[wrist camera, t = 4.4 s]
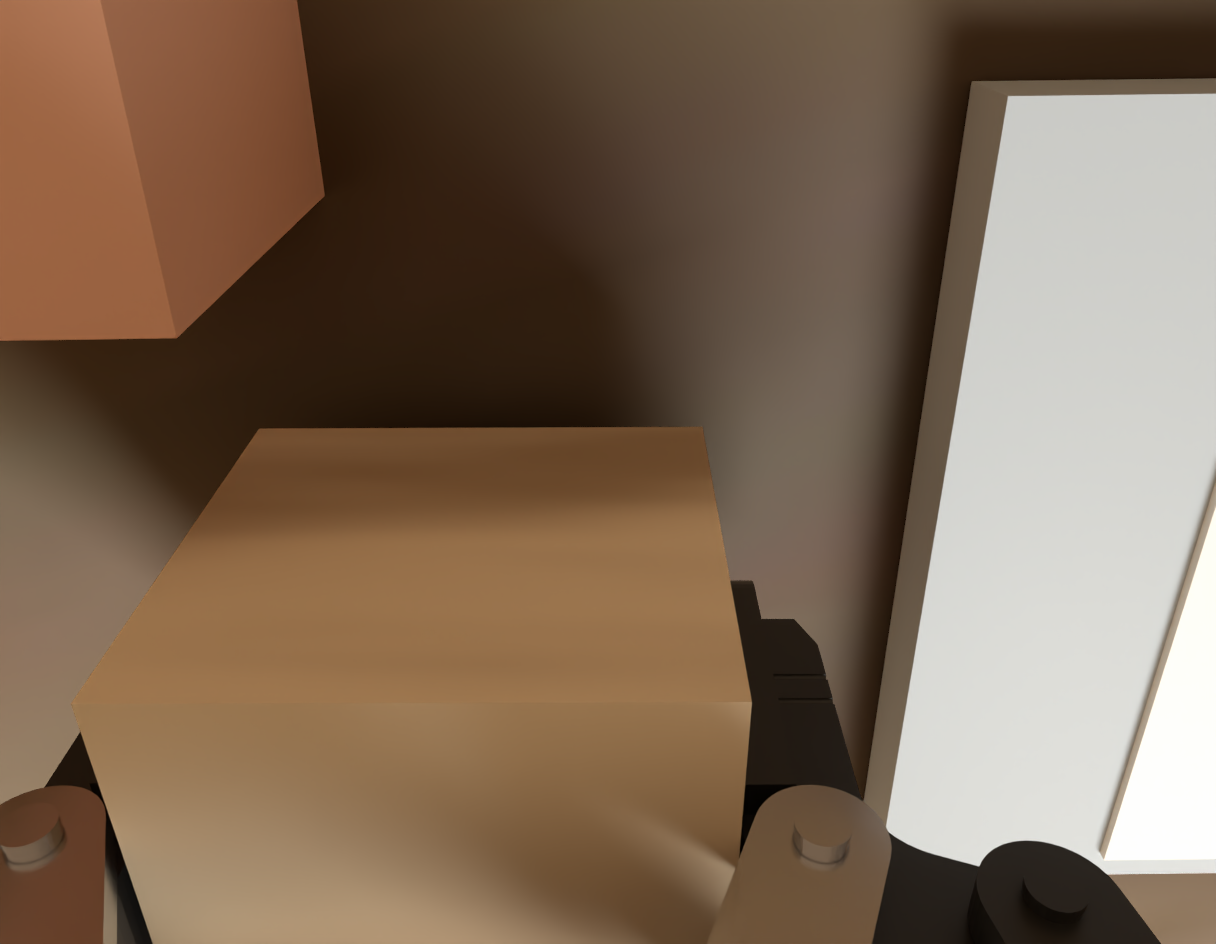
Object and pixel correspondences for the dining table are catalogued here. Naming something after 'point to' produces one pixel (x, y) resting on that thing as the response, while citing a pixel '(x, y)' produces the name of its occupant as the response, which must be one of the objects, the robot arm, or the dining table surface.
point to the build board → (1065, 492)
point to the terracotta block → (145, 159)
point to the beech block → (434, 695)
